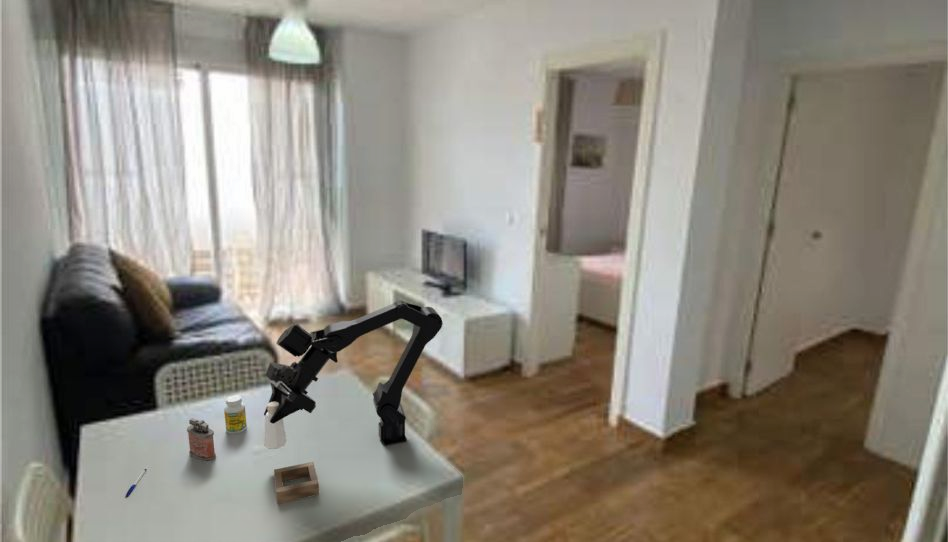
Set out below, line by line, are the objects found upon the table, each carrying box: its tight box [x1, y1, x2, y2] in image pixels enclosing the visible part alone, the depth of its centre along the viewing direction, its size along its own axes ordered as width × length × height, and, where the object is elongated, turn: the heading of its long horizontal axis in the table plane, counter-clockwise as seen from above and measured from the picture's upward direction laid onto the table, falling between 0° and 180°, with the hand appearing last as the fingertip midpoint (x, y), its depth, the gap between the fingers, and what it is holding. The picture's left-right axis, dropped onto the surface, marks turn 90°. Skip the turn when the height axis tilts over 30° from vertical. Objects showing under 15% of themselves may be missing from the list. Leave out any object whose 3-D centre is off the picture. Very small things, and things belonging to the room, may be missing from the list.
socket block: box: [273, 461, 320, 505], centre depth 125 cm, size 9×9×3 cm
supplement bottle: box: [223, 394, 248, 435], centre depth 148 cm, size 5×5×10 cm
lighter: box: [186, 417, 217, 463], centre depth 135 cm, size 8×3×10 cm, turn 65°
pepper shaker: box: [263, 402, 288, 450], centre depth 132 cm, size 5×5×11 cm
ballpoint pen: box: [125, 468, 147, 498], centre depth 125 cm, size 10×1×1 cm, turn 12°
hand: (268, 419), depth 130 cm, fingers closed on pepper shaker, 4 cm apart
